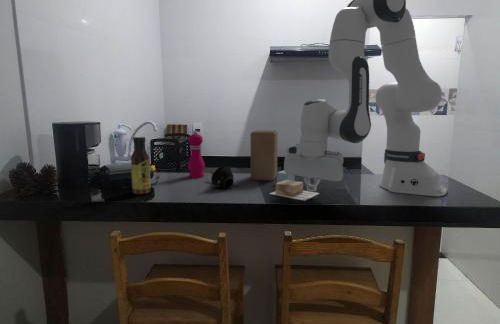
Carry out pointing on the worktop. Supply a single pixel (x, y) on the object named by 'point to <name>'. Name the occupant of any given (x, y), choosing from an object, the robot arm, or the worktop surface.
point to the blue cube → (284, 176)
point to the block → (264, 154)
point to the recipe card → (299, 195)
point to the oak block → (289, 187)
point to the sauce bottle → (140, 167)
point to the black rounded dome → (222, 177)
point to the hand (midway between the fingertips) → (311, 190)
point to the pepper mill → (196, 156)
